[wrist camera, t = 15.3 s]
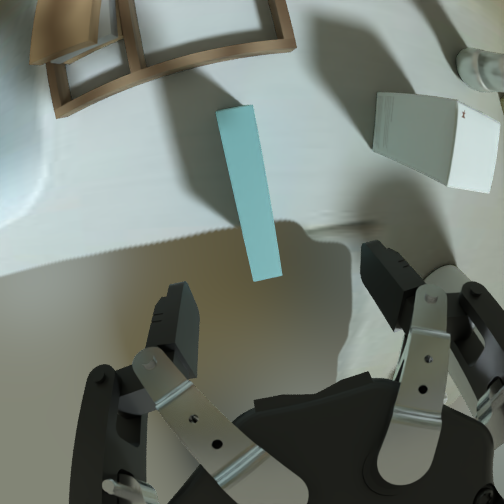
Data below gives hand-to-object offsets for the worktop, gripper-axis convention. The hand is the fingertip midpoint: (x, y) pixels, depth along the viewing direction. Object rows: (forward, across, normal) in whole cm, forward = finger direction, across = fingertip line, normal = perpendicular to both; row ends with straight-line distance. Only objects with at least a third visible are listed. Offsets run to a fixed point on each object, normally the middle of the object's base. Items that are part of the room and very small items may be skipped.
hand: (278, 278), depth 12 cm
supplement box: (+18, -19, -3) cm, 26 cm away
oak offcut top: (+15, +12, -26) cm, 32 cm away
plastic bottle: (+19, -33, -12) cm, 40 cm away
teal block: (+18, 0, 0) cm, 18 cm away
